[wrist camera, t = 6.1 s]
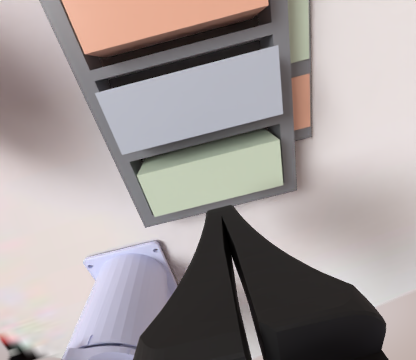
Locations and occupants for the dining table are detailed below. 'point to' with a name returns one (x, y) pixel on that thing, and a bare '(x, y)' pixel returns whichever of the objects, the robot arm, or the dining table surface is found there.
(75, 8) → the key terracotta
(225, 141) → the key sage
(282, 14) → the keypad frame
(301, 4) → the strip
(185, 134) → the key slate
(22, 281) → the dining table surface
